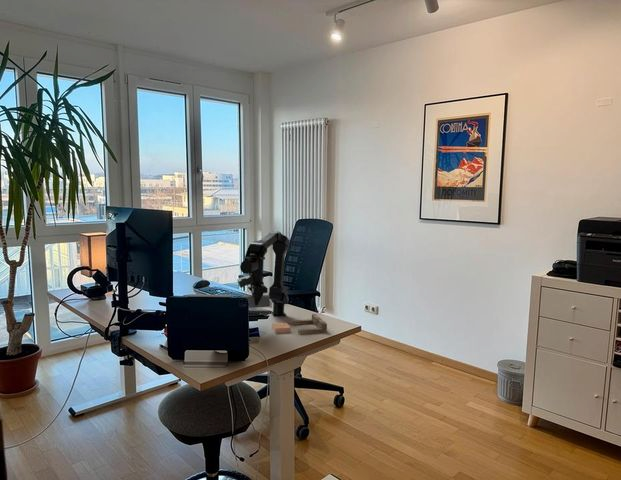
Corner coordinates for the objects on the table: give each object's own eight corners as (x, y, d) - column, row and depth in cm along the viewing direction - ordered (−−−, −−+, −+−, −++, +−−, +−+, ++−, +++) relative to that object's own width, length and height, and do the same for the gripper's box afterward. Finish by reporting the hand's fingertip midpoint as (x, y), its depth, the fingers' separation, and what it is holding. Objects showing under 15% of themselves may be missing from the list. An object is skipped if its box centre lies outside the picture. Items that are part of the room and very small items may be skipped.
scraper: (243, 309, 189) (244, 298, 189) (240, 305, 196) (241, 294, 195) (272, 308, 194) (272, 297, 193) (268, 304, 200) (268, 293, 200)
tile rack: (289, 323, 206) (290, 315, 205) (315, 321, 210) (315, 313, 209) (299, 334, 192) (299, 325, 191) (326, 332, 196) (327, 323, 195)
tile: (271, 328, 199) (271, 323, 198) (286, 327, 201) (286, 322, 201) (275, 334, 192) (275, 328, 192) (290, 332, 194) (290, 327, 194)
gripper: (235, 266, 199) (234, 300, 201) (242, 274, 181) (241, 310, 183) (259, 266, 203) (257, 299, 204) (268, 274, 185) (267, 309, 187)
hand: (255, 304), depth 195 cm, fingers closed on scraper, 3 cm apart
